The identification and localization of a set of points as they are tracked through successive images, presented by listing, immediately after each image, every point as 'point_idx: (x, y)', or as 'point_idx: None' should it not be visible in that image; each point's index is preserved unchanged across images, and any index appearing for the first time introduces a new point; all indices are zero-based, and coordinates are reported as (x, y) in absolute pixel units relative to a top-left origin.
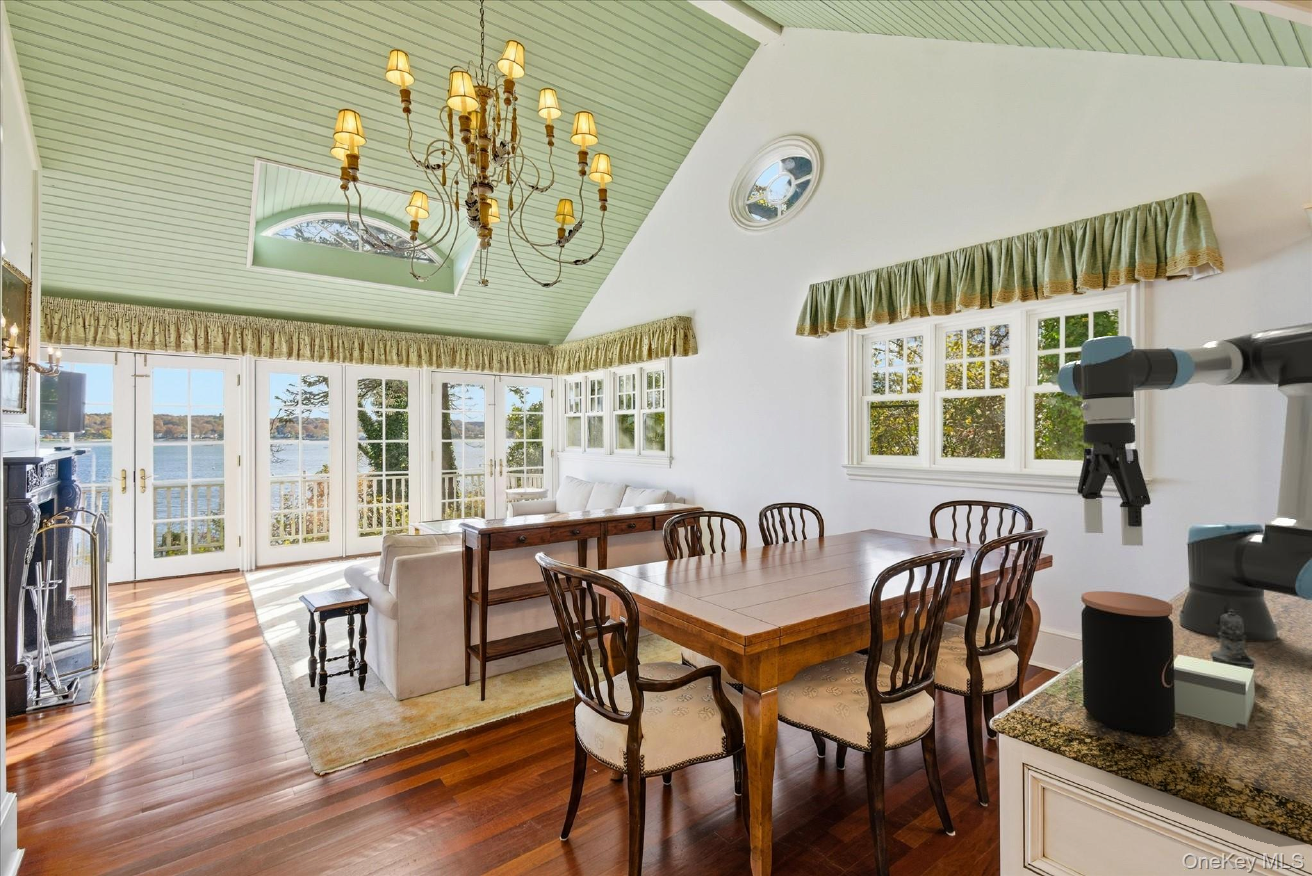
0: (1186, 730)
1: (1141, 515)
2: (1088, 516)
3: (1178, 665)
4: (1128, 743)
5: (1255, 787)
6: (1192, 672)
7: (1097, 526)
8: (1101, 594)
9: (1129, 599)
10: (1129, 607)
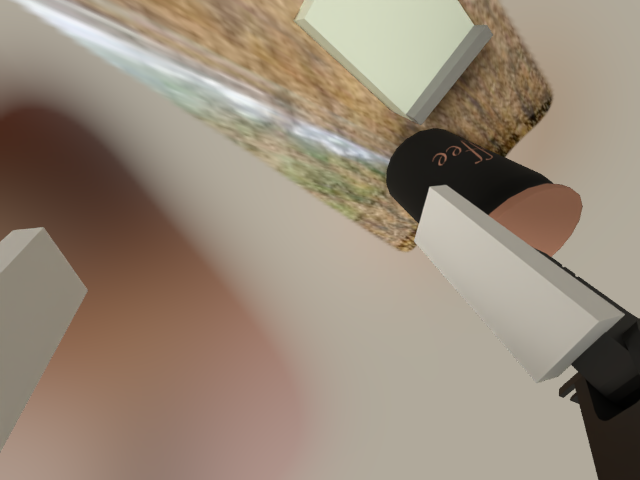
0: (440, 114)
1: (564, 273)
2: (33, 369)
3: (365, 62)
4: None
5: (530, 117)
6: (443, 91)
7: (36, 276)
8: None
9: (525, 236)
10: (554, 249)
